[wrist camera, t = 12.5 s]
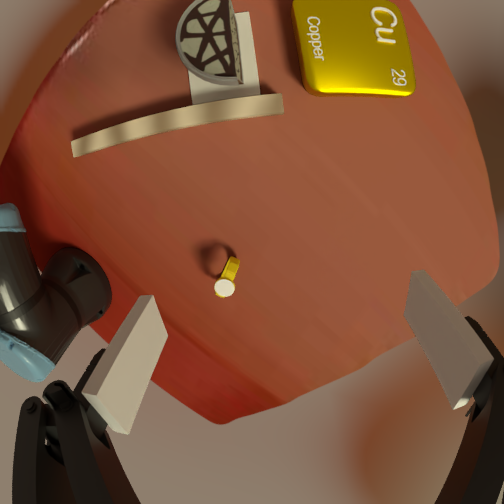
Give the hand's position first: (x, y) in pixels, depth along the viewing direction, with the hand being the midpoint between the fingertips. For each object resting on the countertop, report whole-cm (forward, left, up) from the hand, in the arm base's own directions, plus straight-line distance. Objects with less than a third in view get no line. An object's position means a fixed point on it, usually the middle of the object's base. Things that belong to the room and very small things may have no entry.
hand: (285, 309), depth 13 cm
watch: (-8, -11, -27) cm, 30 cm away
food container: (-5, +20, -26) cm, 33 cm away
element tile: (+13, +20, -27) cm, 36 cm away
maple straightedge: (-13, +11, -27) cm, 32 cm away
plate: (-5, +20, -27) cm, 33 cm away
